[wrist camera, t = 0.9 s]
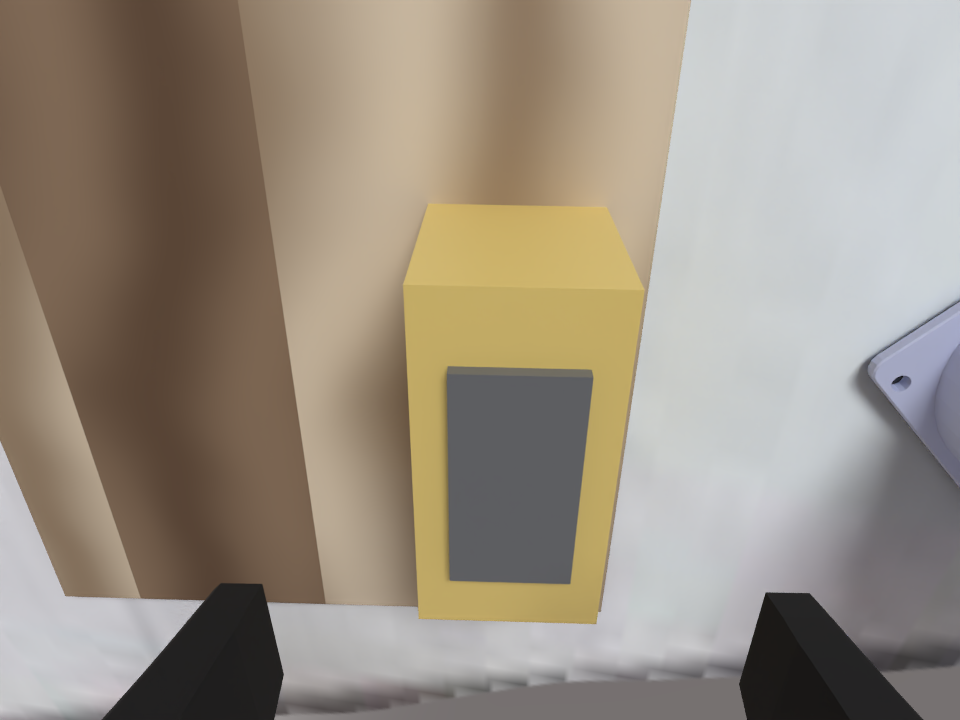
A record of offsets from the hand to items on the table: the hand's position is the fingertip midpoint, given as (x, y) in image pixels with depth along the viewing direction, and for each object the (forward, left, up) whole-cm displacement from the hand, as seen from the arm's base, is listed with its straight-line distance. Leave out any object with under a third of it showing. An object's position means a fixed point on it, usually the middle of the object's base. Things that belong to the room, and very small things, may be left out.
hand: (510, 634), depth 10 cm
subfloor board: (+3, +5, -10) cm, 12 cm away
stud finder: (-1, +1, -10) cm, 10 cm away
